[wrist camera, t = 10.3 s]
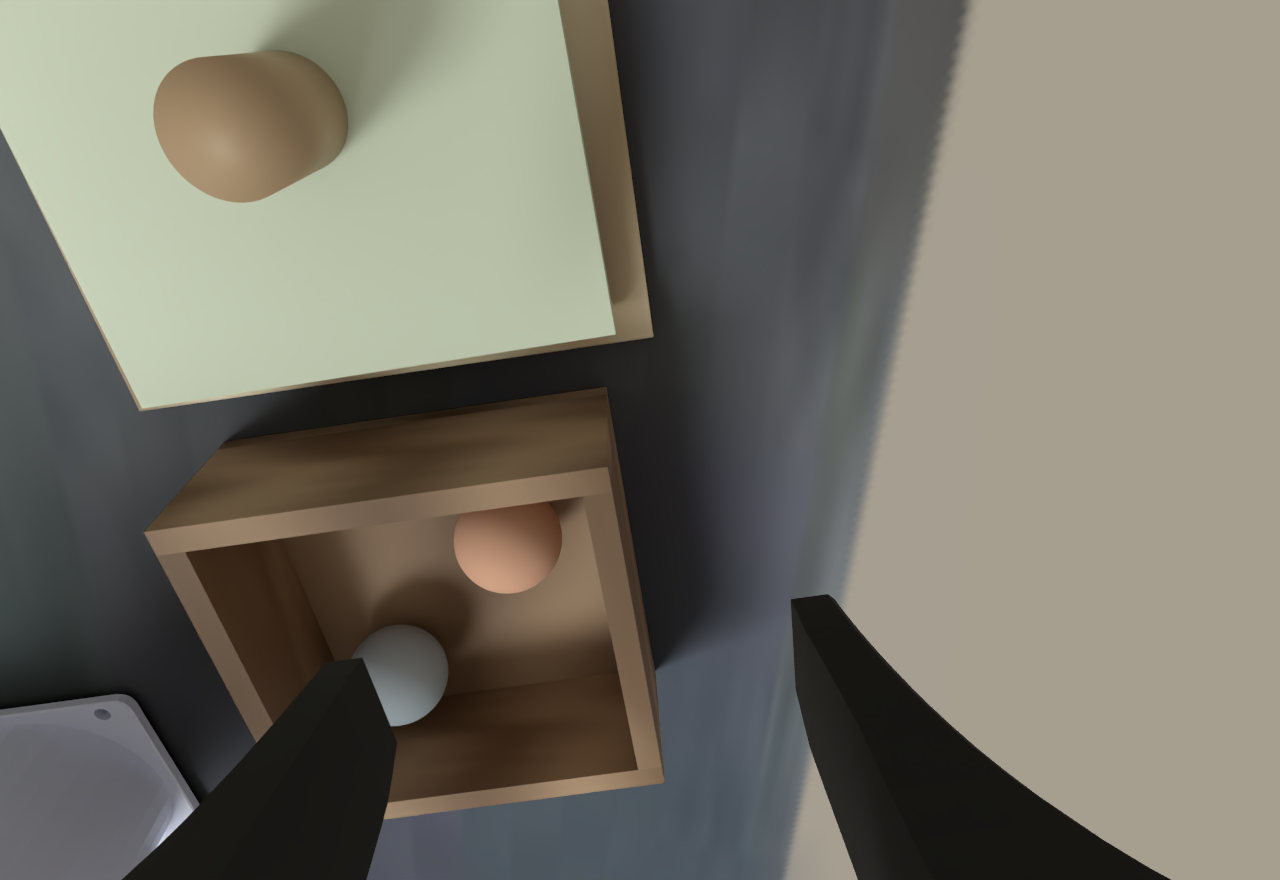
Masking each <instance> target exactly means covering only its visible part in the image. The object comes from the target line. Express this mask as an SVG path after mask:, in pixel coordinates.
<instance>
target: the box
mask: <svg viewBox="0 0 1280 880" xmlns="http://www.w3.org/2000/svg"><path fill="white" fill-rule="evenodd" d="M546 501H547V502H548V503H549V504H550V505H551V506H552V508H553V509H554V511H555V513H556V514H557V516H558V519H559V522H560V525H561V529H562V547H561V552H560V555H559V558H558V561H557V563H556V565H555V567H554V568H553V569H552V571H551V572H550V573H549V575H548V576H547V577H546V578H545V579H544V580H542V581H541V582H540V583H539V584H537V585H536V586H534V587H532V588H530V589H527V590H525V591H522V592H518V593H510V594H503V593H496V592H492V591H489V590H486V589H484V588H482V587H480V586H478V585H477V584H475V583H474V582H473V581H472V580H471V579H470V578H469V577H468V576H467V575H466V574H465V573H464V572H463V570H462V568H461V567H460V565H459V563H458V561H457V558H456V555H455V550H454V531H455V527H456V523H457V521H458V519H459V516H460V514H461V513H468V512H475V511H482V510H489V509H496V508H503V507H511V506H518V505H525V504H532V503H539V502H546ZM144 534H145V535H146V537H147V539H148V541H149V543H150V545H151V547H152V549H153V550H154V552H155V554H156V556H157V558H158V560H159V562H160V564H161V565H162V567H163V569H164V571H165V573H166V575H167V577H168V579H169V580H170V582H171V584H172V586H173V588H174V590H175V592H176V594H177V595H178V597H179V599H180V601H181V603H182V605H183V607H184V608H185V610H186V612H187V614H188V616H189V618H190V620H191V622H192V623H193V625H194V627H195V629H196V631H197V633H198V635H199V637H200V638H201V640H202V642H203V644H204V646H205V648H206V650H207V652H208V653H209V655H210V657H211V659H212V661H213V663H214V665H215V667H216V668H217V670H218V672H219V674H220V676H221V678H222V680H223V682H224V683H225V685H226V687H227V689H228V691H229V693H230V695H231V697H232V698H233V700H234V702H235V704H236V706H237V708H238V710H239V712H240V713H241V715H242V717H243V719H244V721H245V723H246V725H247V727H248V728H249V730H250V732H251V734H252V736H253V738H254V740H255V742H256V743H257V742H258V741H259V739H260V738H261V737H262V736H263V735H264V734H265V733H266V732H267V730H268V729H269V728H270V727H271V726H272V725H273V724H274V722H275V721H276V720H277V719H278V718H279V717H280V715H281V714H282V713H283V712H284V711H285V710H286V708H287V707H288V706H289V705H290V704H291V703H292V701H293V700H294V699H295V698H296V697H297V696H298V694H299V693H300V692H301V691H302V690H303V689H304V687H305V686H306V685H307V684H308V683H309V682H310V681H311V679H312V678H313V677H314V676H315V675H316V674H317V673H318V672H319V670H320V669H321V668H322V667H323V666H324V665H325V664H326V663H327V662H333V661H340V660H348V659H351V658H352V656H353V654H354V652H355V650H356V649H357V647H358V646H359V645H360V644H361V643H362V642H363V641H364V640H365V639H366V638H367V637H368V636H369V635H371V634H372V633H374V632H376V631H377V630H379V629H382V628H384V627H388V626H392V625H412V626H416V627H419V628H421V629H423V630H425V631H427V632H429V633H430V634H431V635H433V636H434V637H435V638H436V639H437V641H438V642H439V643H440V644H441V646H442V648H443V650H444V652H445V654H446V657H447V661H448V672H449V673H448V681H447V685H446V688H445V691H444V693H443V695H442V697H441V699H440V700H439V702H438V703H437V705H436V706H435V707H434V708H433V709H432V710H431V711H430V712H429V713H428V714H427V715H425V716H424V717H422V718H421V719H419V720H417V721H415V722H412V723H410V724H406V725H402V726H391V728H392V731H393V733H394V736H395V738H396V741H397V747H396V754H395V761H394V768H393V775H392V781H391V787H390V793H389V799H388V804H387V808H386V812H385V815H384V819H390V818H398V817H406V816H413V815H421V814H429V813H436V812H444V811H452V810H459V809H467V808H475V807H482V806H490V805H498V804H505V803H513V802H521V801H528V800H536V799H544V798H551V797H559V796H567V795H574V794H582V793H590V792H597V791H605V790H613V789H620V788H628V787H636V786H643V785H651V784H659V783H665V781H664V769H663V757H662V746H661V734H660V722H659V710H658V698H657V687H656V675H655V667H654V662H653V656H652V650H651V644H650V638H649V633H648V627H647V621H646V615H645V609H644V603H643V598H642V592H641V586H640V580H639V574H638V569H637V563H636V557H635V551H634V545H633V540H632V534H631V528H630V522H629V516H628V510H627V505H626V499H625V493H624V487H623V481H622V476H621V470H620V464H619V458H618V452H617V446H616V441H615V435H614V429H613V423H612V417H611V412H610V406H609V400H608V394H607V388H606V387H601V388H594V389H587V390H580V391H573V392H566V393H559V394H552V395H545V396H538V397H532V398H525V399H518V400H511V401H504V402H497V403H490V404H483V405H476V406H469V407H462V408H455V409H448V410H441V411H434V412H427V413H420V414H413V415H406V416H399V417H392V418H385V419H378V420H371V421H364V422H357V423H350V424H343V425H336V426H329V427H322V428H315V429H308V430H301V431H294V432H287V433H280V434H273V435H266V436H259V437H252V438H245V439H238V440H231V441H225V442H224V443H223V444H222V445H221V446H220V447H219V449H218V450H217V451H216V452H215V453H214V454H213V455H212V456H211V458H210V459H209V460H208V461H207V462H206V463H205V464H204V465H203V466H202V468H201V469H200V470H199V471H198V472H197V473H196V474H195V475H194V477H193V478H192V479H191V480H190V481H189V482H188V483H187V484H186V485H185V487H184V488H183V489H182V490H181V491H180V492H179V493H178V494H177V496H176V497H175V498H174V499H173V500H172V501H171V502H170V503H169V504H168V506H167V507H166V508H165V509H164V510H163V511H162V512H161V513H160V515H159V516H158V517H157V518H156V519H155V520H154V521H153V522H152V523H151V525H150V526H149V527H148V528H147V529H146V530H145V531H144Z"/></svg>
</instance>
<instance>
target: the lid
mask: <svg viewBox="0 0 1280 880" xmlns="http://www.w3.org/2000/svg"><path fill="white" fill-rule="evenodd" d="M0 128H1V130H2V132H3V134H4V136H5V138H6V140H7V142H8V144H9V146H10V148H11V150H12V152H13V154H14V156H15V158H16V160H17V162H18V164H19V166H20V168H21V170H22V172H23V174H24V176H25V178H26V180H27V182H28V184H29V186H30V188H31V190H32V191H33V193H34V195H35V197H36V199H37V201H38V203H39V205H40V207H41V209H42V211H43V213H44V215H45V217H46V219H47V221H48V223H49V225H50V227H51V229H52V231H53V233H54V235H55V237H56V239H57V241H58V243H59V245H60V247H61V249H62V251H63V253H64V255H65V257H66V259H67V261H68V263H69V265H70V267H71V269H72V271H73V273H74V275H75V277H76V279H77V281H78V283H79V285H80V287H81V289H82V291H83V293H84V295H85V296H86V298H87V300H88V302H89V304H90V306H91V308H92V310H93V312H94V314H95V316H96V318H97V320H98V322H99V324H100V326H101V328H102V330H103V332H104V334H105V336H106V338H107V340H108V342H109V344H110V346H111V348H112V350H113V352H114V354H115V356H116V358H117V360H118V362H119V364H120V366H121V368H122V370H123V372H124V374H125V376H126V378H127V380H128V382H129V384H130V386H131V388H132V390H133V392H134V394H135V396H136V398H137V400H138V401H139V403H140V405H141V407H142V409H144V408H150V407H157V406H163V405H169V404H176V403H182V402H189V401H195V400H201V399H208V398H214V397H220V396H227V395H233V394H239V393H246V392H252V391H259V390H265V389H271V388H278V387H284V386H290V385H297V384H303V383H310V382H316V381H322V380H329V379H335V378H341V377H348V376H354V375H361V374H367V373H373V372H380V371H386V370H392V369H399V368H405V367H412V366H418V365H424V364H431V363H437V362H443V361H450V360H456V359H463V358H469V357H475V356H482V355H488V354H494V353H501V352H507V351H513V350H520V349H526V348H533V347H539V346H545V345H552V344H558V343H564V342H571V341H577V340H584V339H590V338H596V337H603V336H609V335H615V334H616V331H615V320H614V314H613V308H612V302H611V297H610V291H609V285H608V279H607V273H606V268H605V262H604V256H603V250H602V244H601V239H600V233H599V227H598V221H597V215H596V210H595V204H594V198H593V192H592V186H591V181H590V175H589V169H588V163H587V158H586V152H585V146H584V140H583V134H582V129H581V123H580V117H579V111H578V105H577V100H576V94H575V88H574V82H573V76H572V71H571V65H570V59H569V53H568V47H567V42H566V36H565V30H564V24H563V18H562V13H561V7H560V1H559V0H0Z"/></svg>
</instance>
